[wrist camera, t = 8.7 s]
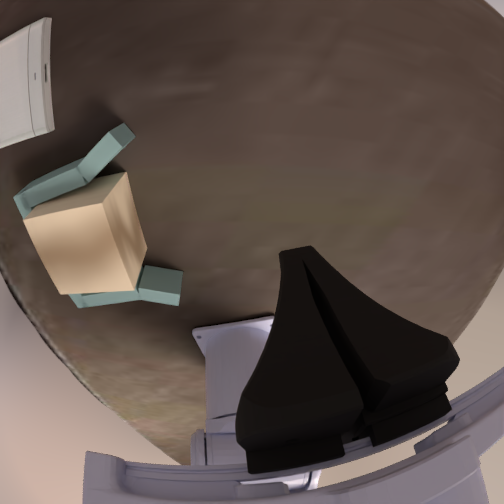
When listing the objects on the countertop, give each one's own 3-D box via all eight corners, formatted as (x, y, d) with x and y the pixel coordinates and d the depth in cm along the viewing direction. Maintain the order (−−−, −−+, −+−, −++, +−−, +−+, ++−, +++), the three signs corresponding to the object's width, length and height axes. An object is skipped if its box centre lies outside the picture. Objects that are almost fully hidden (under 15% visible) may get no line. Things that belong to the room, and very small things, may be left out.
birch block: (147, 247, 19) (134, 290, 16) (81, 254, 19) (60, 294, 15) (127, 170, 16) (102, 202, 12) (55, 187, 15) (23, 220, 12)
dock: (187, 281, 21) (185, 304, 19) (93, 296, 21) (85, 317, 19) (131, 120, 14) (117, 128, 12) (25, 167, 14) (6, 181, 12)
